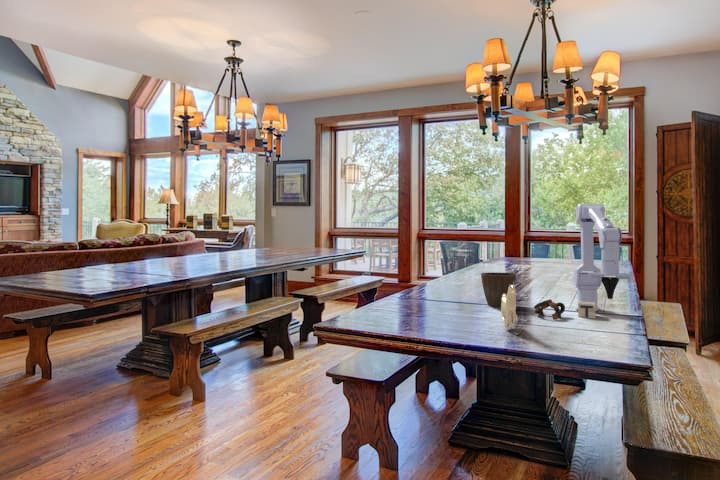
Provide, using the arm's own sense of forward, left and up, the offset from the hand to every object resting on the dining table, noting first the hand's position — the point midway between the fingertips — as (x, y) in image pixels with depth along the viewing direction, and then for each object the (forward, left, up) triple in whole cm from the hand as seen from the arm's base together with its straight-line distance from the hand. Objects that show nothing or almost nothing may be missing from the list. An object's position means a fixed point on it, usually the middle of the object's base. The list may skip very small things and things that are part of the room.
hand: (610, 298), depth 176 cm
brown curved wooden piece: (-2, -19, -10) cm, 22 cm away
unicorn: (+26, -28, -10) cm, 40 cm away
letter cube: (-12, -10, -10) cm, 18 cm away
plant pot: (-13, -46, -10) cm, 48 cm away
